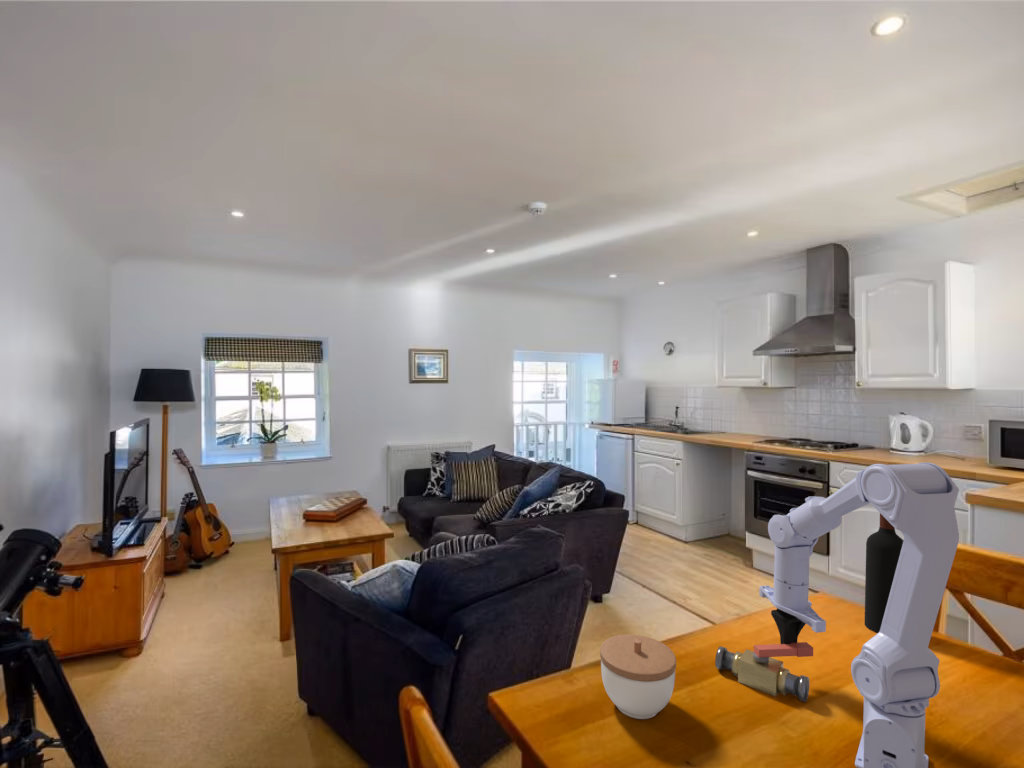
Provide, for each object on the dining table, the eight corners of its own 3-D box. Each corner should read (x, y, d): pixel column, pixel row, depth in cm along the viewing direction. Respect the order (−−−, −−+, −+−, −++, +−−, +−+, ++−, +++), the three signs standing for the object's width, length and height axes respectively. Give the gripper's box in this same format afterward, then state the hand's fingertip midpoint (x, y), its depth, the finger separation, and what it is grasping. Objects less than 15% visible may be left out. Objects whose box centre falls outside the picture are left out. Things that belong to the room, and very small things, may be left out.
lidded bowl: (644, 676, 95) (644, 618, 94) (691, 719, 83) (693, 652, 83) (585, 692, 90) (586, 630, 90) (628, 739, 78) (629, 669, 78)
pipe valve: (809, 695, 90) (810, 671, 90) (803, 708, 86) (804, 683, 86) (723, 662, 100) (723, 641, 99) (714, 673, 96) (714, 650, 96)
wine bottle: (857, 624, 115) (859, 494, 115) (876, 618, 119) (879, 491, 118) (893, 640, 109) (896, 501, 108) (913, 633, 112) (916, 498, 111)
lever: (758, 663, 91) (758, 650, 91) (750, 655, 94) (750, 643, 94) (814, 661, 92) (814, 648, 92) (804, 653, 95) (805, 641, 95)
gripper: (841, 594, 88) (839, 670, 88) (781, 562, 102) (779, 628, 103) (806, 598, 86) (804, 675, 87) (750, 565, 101) (748, 631, 101)
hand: (788, 650), depth 95 cm, fingers closed, pressing on lever
